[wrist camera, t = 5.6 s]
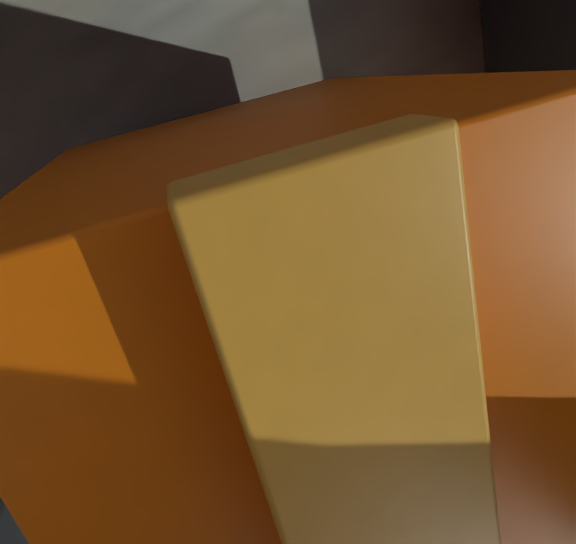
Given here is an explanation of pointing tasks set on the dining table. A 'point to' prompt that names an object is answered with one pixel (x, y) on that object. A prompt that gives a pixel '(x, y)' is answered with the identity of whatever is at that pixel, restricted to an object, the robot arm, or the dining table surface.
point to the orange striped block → (301, 321)
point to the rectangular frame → (498, 58)
